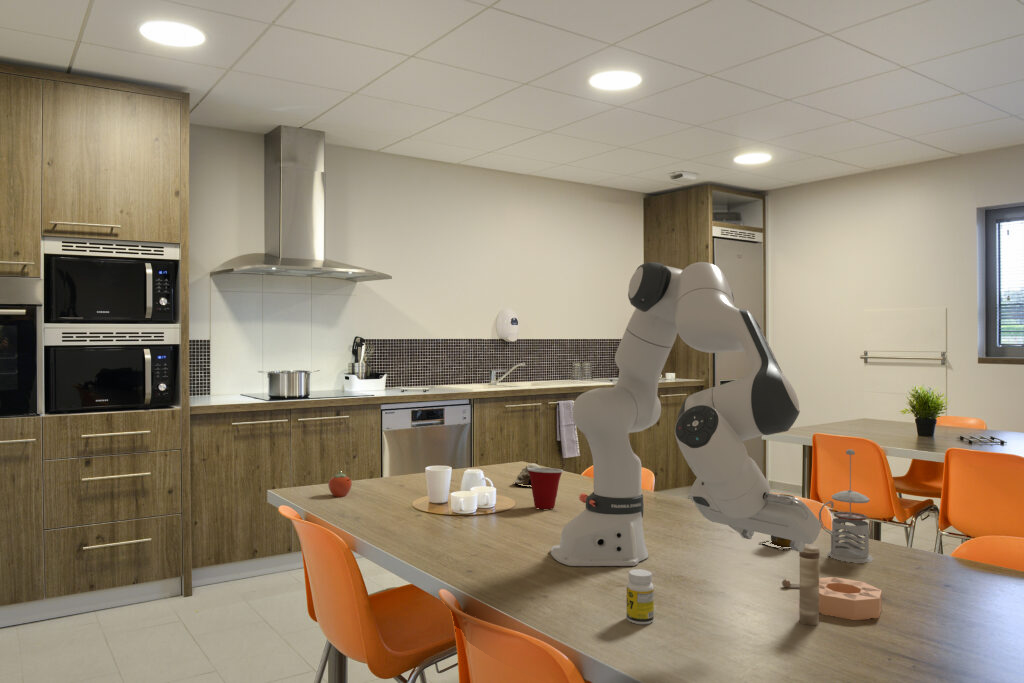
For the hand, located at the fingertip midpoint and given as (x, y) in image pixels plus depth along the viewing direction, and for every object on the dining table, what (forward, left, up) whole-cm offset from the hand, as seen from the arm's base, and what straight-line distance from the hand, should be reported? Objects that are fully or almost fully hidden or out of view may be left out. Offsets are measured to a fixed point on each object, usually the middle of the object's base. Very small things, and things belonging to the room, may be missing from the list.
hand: (773, 541), depth 121 cm
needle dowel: (+10, +5, -16) cm, 19 cm away
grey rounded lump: (-6, +138, -16) cm, 139 cm away
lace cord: (+25, +20, -16) cm, 36 cm away
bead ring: (+21, +10, -16) cm, 28 cm away
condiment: (+35, +51, -16) cm, 64 cm away
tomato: (-71, +132, -16) cm, 150 cm away
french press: (+44, +39, -16) cm, 61 cm away
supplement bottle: (-19, +12, -16) cm, 27 cm away
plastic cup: (-11, +102, -16) cm, 104 cm away
